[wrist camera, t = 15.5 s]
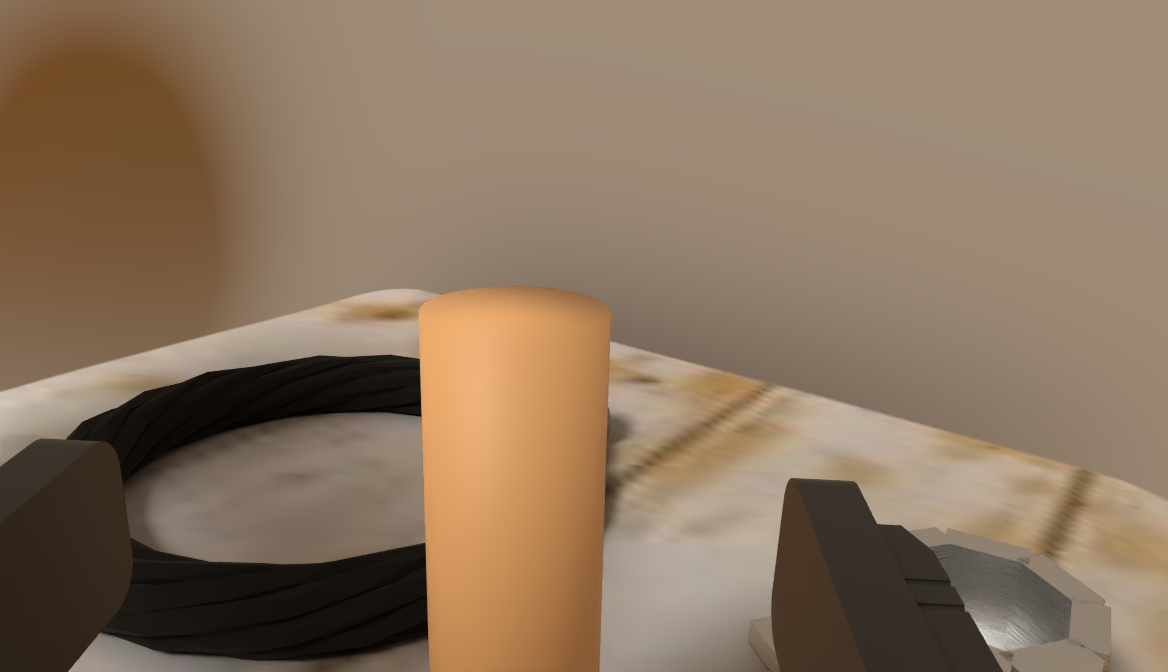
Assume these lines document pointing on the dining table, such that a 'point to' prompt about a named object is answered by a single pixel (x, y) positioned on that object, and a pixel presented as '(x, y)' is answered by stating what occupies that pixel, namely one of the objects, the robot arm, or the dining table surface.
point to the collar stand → (1009, 606)
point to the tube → (514, 477)
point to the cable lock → (259, 590)
